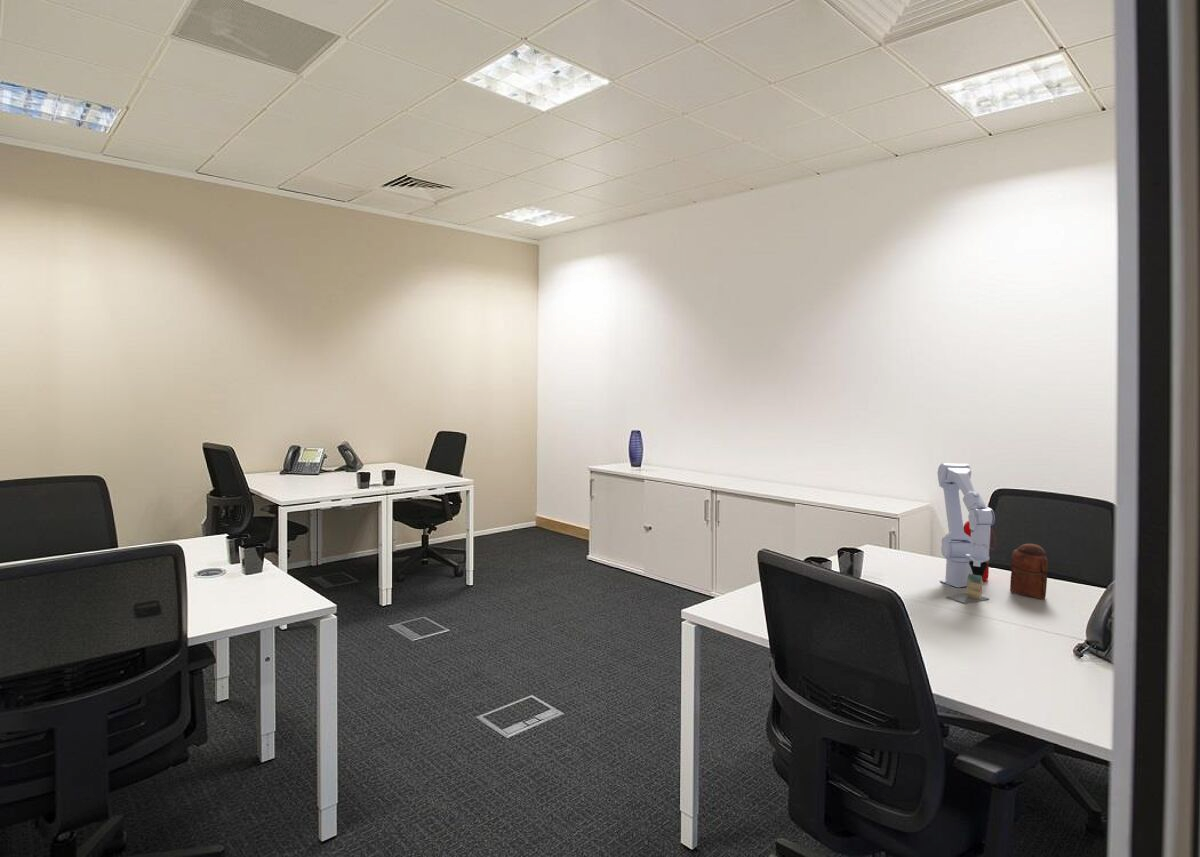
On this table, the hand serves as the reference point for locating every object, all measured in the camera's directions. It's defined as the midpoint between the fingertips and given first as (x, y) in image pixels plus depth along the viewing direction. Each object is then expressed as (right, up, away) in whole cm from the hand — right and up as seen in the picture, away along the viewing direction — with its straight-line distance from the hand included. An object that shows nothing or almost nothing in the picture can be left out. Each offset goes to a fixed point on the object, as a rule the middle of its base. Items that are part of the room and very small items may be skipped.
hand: (977, 582), depth 231 cm
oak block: (-1, -4, 0) cm, 4 cm away
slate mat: (-4, -5, -1) cm, 7 cm away
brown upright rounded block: (+20, -5, +4) cm, 21 cm away
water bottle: (+12, -4, +23) cm, 26 cm away
